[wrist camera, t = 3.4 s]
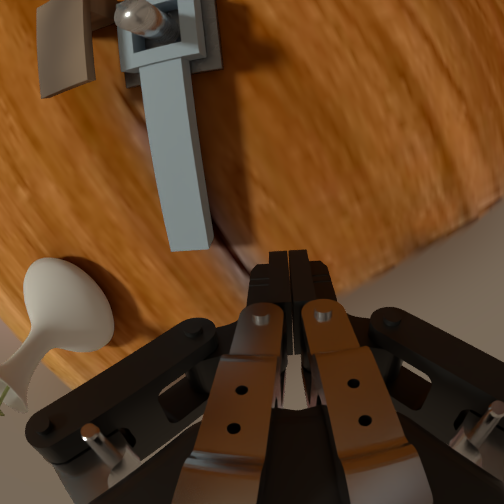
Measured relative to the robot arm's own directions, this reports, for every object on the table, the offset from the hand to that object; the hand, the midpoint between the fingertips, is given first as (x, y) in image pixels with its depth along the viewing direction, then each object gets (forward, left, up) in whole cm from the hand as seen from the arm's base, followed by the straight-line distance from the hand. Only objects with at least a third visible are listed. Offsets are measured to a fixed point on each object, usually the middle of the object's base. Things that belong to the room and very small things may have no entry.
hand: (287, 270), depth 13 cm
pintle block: (+7, -13, -11) cm, 18 cm away
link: (+7, -6, -10) cm, 14 cm away
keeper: (+13, -14, -11) cm, 22 cm away
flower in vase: (+23, +9, -11) cm, 27 cm away
